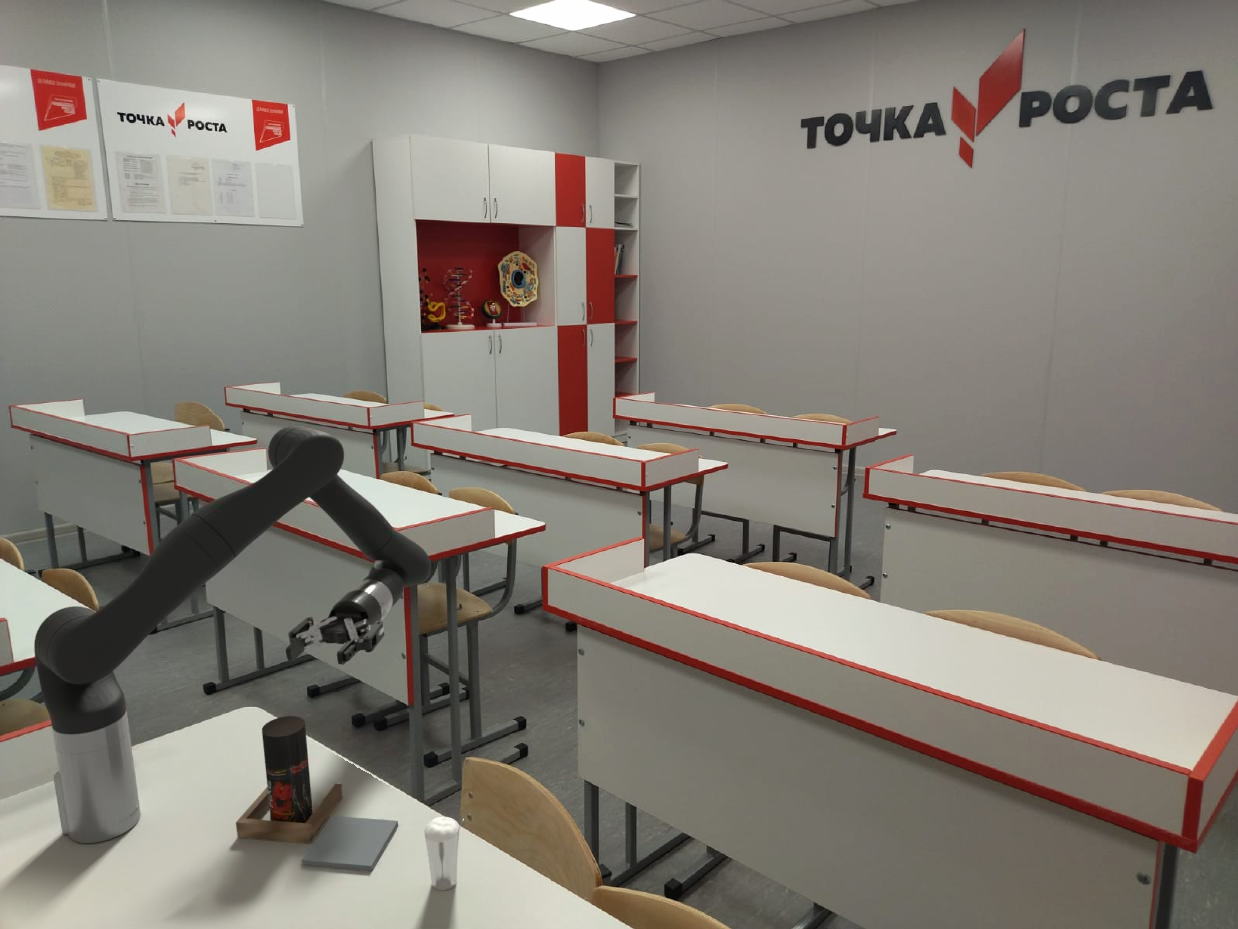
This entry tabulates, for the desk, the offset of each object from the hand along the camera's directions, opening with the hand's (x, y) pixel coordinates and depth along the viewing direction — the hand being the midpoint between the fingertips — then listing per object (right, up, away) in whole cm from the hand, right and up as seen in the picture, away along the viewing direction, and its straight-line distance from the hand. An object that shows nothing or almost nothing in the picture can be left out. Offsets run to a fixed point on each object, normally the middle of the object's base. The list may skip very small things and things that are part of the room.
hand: (314, 657), depth 136 cm
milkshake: (+24, -26, -18) cm, 40 cm away
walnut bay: (-2, -23, -4) cm, 23 cm away
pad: (+9, -24, -10) cm, 28 cm away
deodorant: (-2, -23, -4) cm, 24 cm away
